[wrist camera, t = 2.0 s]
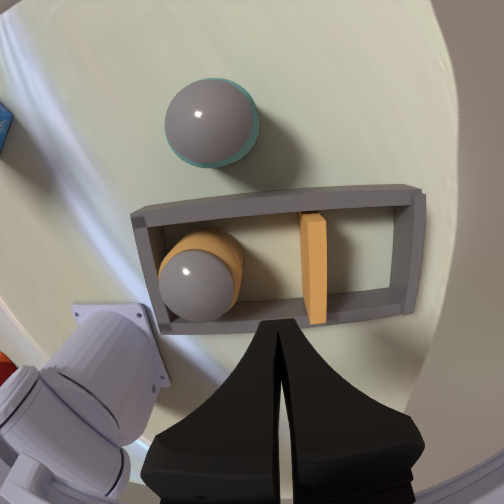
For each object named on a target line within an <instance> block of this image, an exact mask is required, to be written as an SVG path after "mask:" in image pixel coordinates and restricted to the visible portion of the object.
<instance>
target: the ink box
mask: <svg viewBox="0 0 504 504" xmlns="http://www.w3.org/2000/svg"><path fill="white" fill-rule="evenodd" d="M12 118H13V114H11V113H10V112H9V111H8V110H7V109H6V108H5V107H4V106H3V105H2V104H1V103H0V152H1V149H2V146H3V142H4V140H5V136H6V134H7V131H8V128H9V125H10V123H11V120H12Z"/></svg>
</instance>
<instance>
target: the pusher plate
mask: <svg viewBox="0 0 504 504" xmlns="http://www.w3.org/2000/svg"><path fill="white" fill-rule="evenodd" d="M299 226H300V243H301V264H302V292H303V298H304V302H305V306H306V310H307V313H308V318H309V322H310V325H311V324H320V323H326V308H327V238H326V221H325V219H324V218H323V217H322V216H321V215H320V214H319V213H318V212H317V211H316V210H312V211H299Z"/></svg>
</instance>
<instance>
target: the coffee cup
mask: <svg viewBox="0 0 504 504" xmlns="http://www.w3.org/2000/svg"><path fill="white" fill-rule="evenodd" d="M16 370H17V368H16V367H15V365H14V364H13V363H12V361H11V360H10V359H9V358H8V357H7V356H6V355H5V354H4V353H2V352H1V351H0V387H1V386H2V385H3V384H4V382H5V381H6V380H7V379H8V378H9V377H10V376H11V375H12V374H13V373H14V372H15V371H16Z"/></svg>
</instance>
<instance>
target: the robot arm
mask: <svg viewBox="0 0 504 504" xmlns="http://www.w3.org/2000/svg"><path fill="white" fill-rule="evenodd" d="M71 309H72V312H73V314H74V317H75V319H76V322H77V324H78V327H77V328H76V330H75V331H74V332H73V333H72V334H71V335H70V336H69V337H68V339H67V340H66V341H65V342H64V343H63V344H62V345H61V347H60V348H59V349H58V350H57V351H56V352H55V354H54V355H53V356H52V357H51V358H50V360H49V361H48V362H47V363H46V364H45V366H44V367H43V368H42V369H41V370H40V371H39V372H38V370H37V369H36V368H35V367H34V366H30V367H29V366H25V365H23V366H21V367H20V368H19V369H17V370H16V371H15V372H14V373H13V374H12V375H11V376H10V377H9V378H8V379H7V380H6V381H5V382H4V384H3V385H2V386H1V387H0V504H129V503H126V502H123V501H119V500H118V499H119V497H121V495H122V494H123V492H124V491H125V489H126V487H127V485H128V482H129V479H130V473H131V463H130V457H129V455H128V453H127V452H126V450H125V449H123V448H122V446H126V445H129V444H131V443H133V442H134V441H136V440H137V439H138V438H139V437H140V436H141V435H142V433H143V432H144V430H145V428H146V426H147V423H148V420H149V418H150V415H151V412H152V410H153V407H154V405H155V402H156V399H157V397H158V394H159V392H160V389H161V387H163V388H169V387H170V385H171V382H170V379H169V377H168V374H167V372H166V369H165V366H164V364H163V361H162V359H161V356H160V353H159V350H158V348H157V345H156V342H155V339H154V336H153V333H152V330H151V327H150V324H149V321H148V318H147V315H146V312H145V309H144V307H143V305H141V304H140V303H117V304H73V305H72V306H71ZM138 313H140V314H141V315H142V316H140V315H139V314H138ZM163 376H164V377H163ZM281 381H282V387H283V393H284V398H285V404H286V410H287V416H288V421H289V429H290V440H291V459H292V480H293V504H504V448H503V449H502V450H500V451H499V452H497V453H495V454H494V455H492V456H491V457H489V458H487V459H486V460H484V461H482V462H481V463H479V464H477V465H475V466H473V467H472V468H470V469H468V470H466V471H464V472H462V473H460V474H458V475H456V476H454V477H452V478H450V479H448V480H446V481H444V482H442V483H439V484H437V485H434V486H432V487H430V488H427V489H425V490H422V491H420V492H417V493H414V492H413V489H412V485H411V481H412V480H413V475H412V472H411V468H412V467H413V465H414V464H415V463H416V461H417V460H418V459H419V457H420V456H421V454H422V452H423V450H424V448H425V443H424V441H423V438H422V436H421V434H420V432H419V430H418V428H417V427H416V425H415V424H414V422H413V420H412V419H411V417H410V416H408V415H405V414H403V413H401V412H398V411H396V410H394V409H391V408H389V407H387V406H385V405H383V404H381V403H379V402H377V401H375V400H374V399H372V398H370V397H369V396H367V395H366V394H364V393H363V392H361V391H360V390H358V389H357V388H355V387H354V386H352V385H351V384H350V383H349V382H347V381H346V380H345V379H344V378H342V377H341V376H340V375H339V374H338V373H337V372H336V371H334V370H333V369H332V368H331V367H330V366H329V365H328V364H327V363H326V361H325V360H324V359H323V358H322V357H321V356H320V355H319V354H318V353H317V351H316V350H315V349H314V348H313V346H312V345H311V344H310V342H309V341H308V340H307V338H306V337H305V335H304V334H303V332H302V331H301V329H300V327H299V326H298V324H297V322H296V320H295V319H294V318H287V319H276V320H263V321H261V322H260V323H259V325H258V328H257V330H256V333H255V335H254V337H253V339H252V341H251V343H250V345H249V347H248V349H247V351H246V352H245V354H244V356H243V357H242V359H241V360H240V362H239V363H238V365H237V366H236V368H235V369H234V370H233V372H232V373H231V374H230V376H229V377H228V378H227V379H226V381H225V382H224V383H223V384H222V385H221V386H220V387H219V388H218V389H217V390H216V391H215V392H214V393H213V395H212V396H211V397H210V398H208V399H207V400H206V401H205V402H204V403H203V404H202V405H201V406H199V407H198V408H197V409H196V410H194V411H193V412H192V413H190V414H189V415H188V416H187V417H185V418H184V419H183V420H181V421H180V422H178V423H176V424H175V425H173V426H171V427H170V428H168V429H166V430H165V431H163V432H161V433H159V434H158V435H156V436H155V438H154V440H153V442H152V444H151V446H150V448H149V450H148V452H147V455H146V458H145V461H144V464H143V467H142V470H141V473H140V475H141V479H142V480H143V481H144V483H145V484H146V485H147V486H148V487H149V488H150V489H151V490H152V491H153V492H155V493H156V494H157V495H158V496H159V497H160V498H161V501H160V504H280V470H279V438H278V429H279V411H280V395H281Z"/></svg>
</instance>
